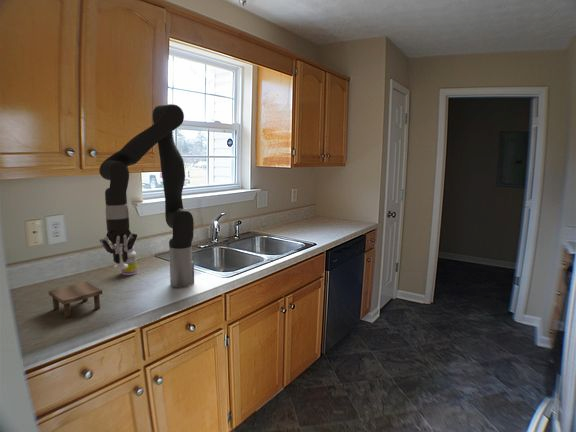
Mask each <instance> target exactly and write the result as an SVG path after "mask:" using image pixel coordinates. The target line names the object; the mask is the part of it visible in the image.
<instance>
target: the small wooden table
mask: <svg viewBox="0 0 576 432" xmlns="http://www.w3.org/2000/svg"><path fill="white" fill-rule="evenodd" d="M48 295H49V296H50V297H52V307H53V311H58V310H60V304H62V305H63V310H64V319H66V320H68V319H71V318H72V315H71V314H72V313H71V312H72V311H71V304H72V303H75V302H79V301H82V302H85V303H86V302H88V301H89V299H90V298H93V304H94V310H100V309H101V302H100V300H101V299H100V295H103V290H102V289H101V288H99V287H98V286H95V285H93V284H91V283H90V282H88V281H83V282H79V283H75V284H71V285H67V286H63V287H60V288H55V289H50V290H48Z"/></svg>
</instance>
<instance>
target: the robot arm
mask: <svg viewBox="0 0 576 432" xmlns="http://www.w3.org/2000/svg"><path fill="white" fill-rule="evenodd" d="M184 119H185V114H184V111H183V109H182V108H181V107H180V106H179V105H177V104H174V103H169V104H168V103H167V104H160V105H157V106H155V107H154V109H153V111H152V123H153V124H152V125H151V126H149V127H147V128H146V129H144V130H143V131H141V132H140V133H138V134H136V135H135V136H134V137H132V138H131V139H130V140H129V141H128V142H127V143H126V144H125V145H124V146H123V147H122V148H121V149H119V150H118V151H116V152H115V153H113V154H112V155H110V156H108V157H107V158H106V159H105V160H104V161H103V162H102V163H101V164H100V166H99V172H98V173H99V175H100V176H101V177H102V178H103V179H104V180H107V181H109V187H107V188H106V189H105V192H104V198H105V223H106V231H107V232H106V236H105V237H103V238H100V239H99V242H100V244H101V245H102V247H103V248H104V249H105V251H106V252H107V253H109V254H112V257H113V260H112V261H113V262H114V263H115V264H116V265H117V264H118V263H120V259H119V254H118V252H119V244H120V246H123V248H122V252H123V254H122V259H123V262H126V261H127V259H128V254H127V251H128V250H130V249H132V247H133V246H134V245H135V242H136V240H137V237H138V234H137V233H133V232H131V230H130V217H129V216H130V215H129V214H130V213H129V207H128V200H127V199H128V196H127V190H128V188H129V187H128V186H129V181H130V171H129V166H134V165H135V164H137V163H138V162H139V161H140V160H141V159H142V158H143V157H144V156H145V155H147V153H148V152H150V150H151V149H152V148H153V147H155V145H156V144H157V147H158V154H159V162H160V173H161V179H162V187H163V192H164V204H165V205H164V207H165V208H164V209H165V211H164V212H165V214H164V217H165V222H166V224H167V226H168V227H169V228H171V229H172V237H171V238H170V239H169V241H168V246H169V247H168V248H169V251H168V254H169V274H170V275H169V277H170V281H169V283H170V285H169V286H170V287H172V288H176V289H177V288H178V289H181V288H187V287H190V286H192V285H193V284H195V262H194V261H193V258H192V257H193V251H192V249H193V248H192V245H193V244H192V243H193V239H194V230H195V229H194V227H195V226H194V225H195V223H194V217H193V214H192V213H191V212H190V211H189V210H186V209H185V208H184V204H183V191H184V190H183V189H184V185H185V182H186V181H185V180H186V170H185V163H184V159H183V156H182V154H181V152H180V150H179V149H178V147H177V145H176V142H175V139H174V134H173V131H175V130H176V129H177V128H179V127H180V126H181V125H182V124H183V122H184ZM109 241H110V242H109ZM109 243H111V246H110V244H109Z"/></svg>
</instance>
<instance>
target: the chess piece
mask: <svg viewBox="0 0 576 432" xmlns="http://www.w3.org/2000/svg"><path fill="white" fill-rule="evenodd" d="M122 248H123V246H121V245H120V244H119V251H118V254H119V259H120V263H118V264H117V263H116V264H115V265H114V266H113V269H114V270H115V271H116V270H118V271H120V270H121V271H122V269H126V268H128V264H124V262H123V259H122V254H123V252H122Z"/></svg>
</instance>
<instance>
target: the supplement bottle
mask: <svg viewBox="0 0 576 432" xmlns="http://www.w3.org/2000/svg"><path fill="white" fill-rule="evenodd" d="M127 254H128V259H127V261H126V262H124V264H128V268H126V269H122V270H121V274H122V275H123V276H132V275H135V274H137V272H138V262H137V252H136V251H135V247H134V245H133V247H132V249H130V250H128V251H127Z"/></svg>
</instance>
